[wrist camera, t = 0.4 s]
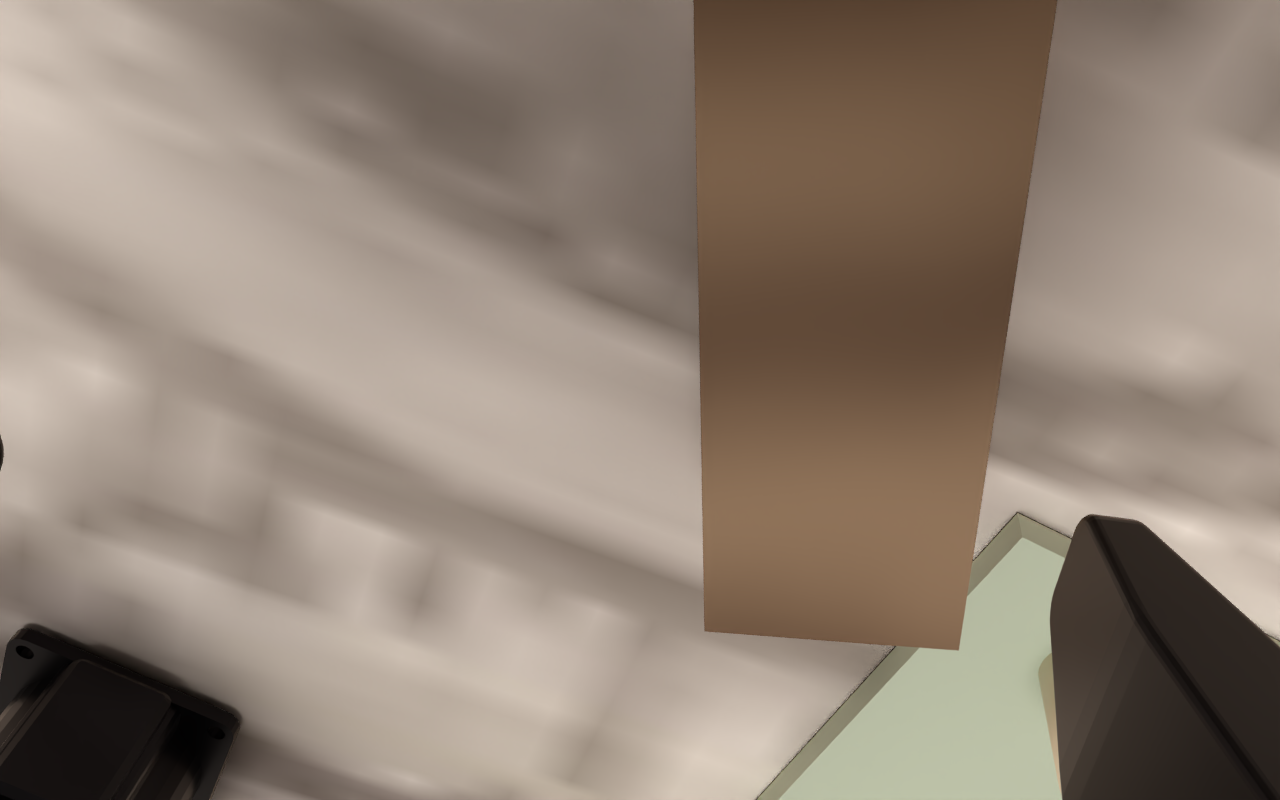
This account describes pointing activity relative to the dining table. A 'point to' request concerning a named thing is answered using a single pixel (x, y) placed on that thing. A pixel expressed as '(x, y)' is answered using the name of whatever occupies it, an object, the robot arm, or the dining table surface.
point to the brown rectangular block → (855, 301)
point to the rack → (955, 698)
